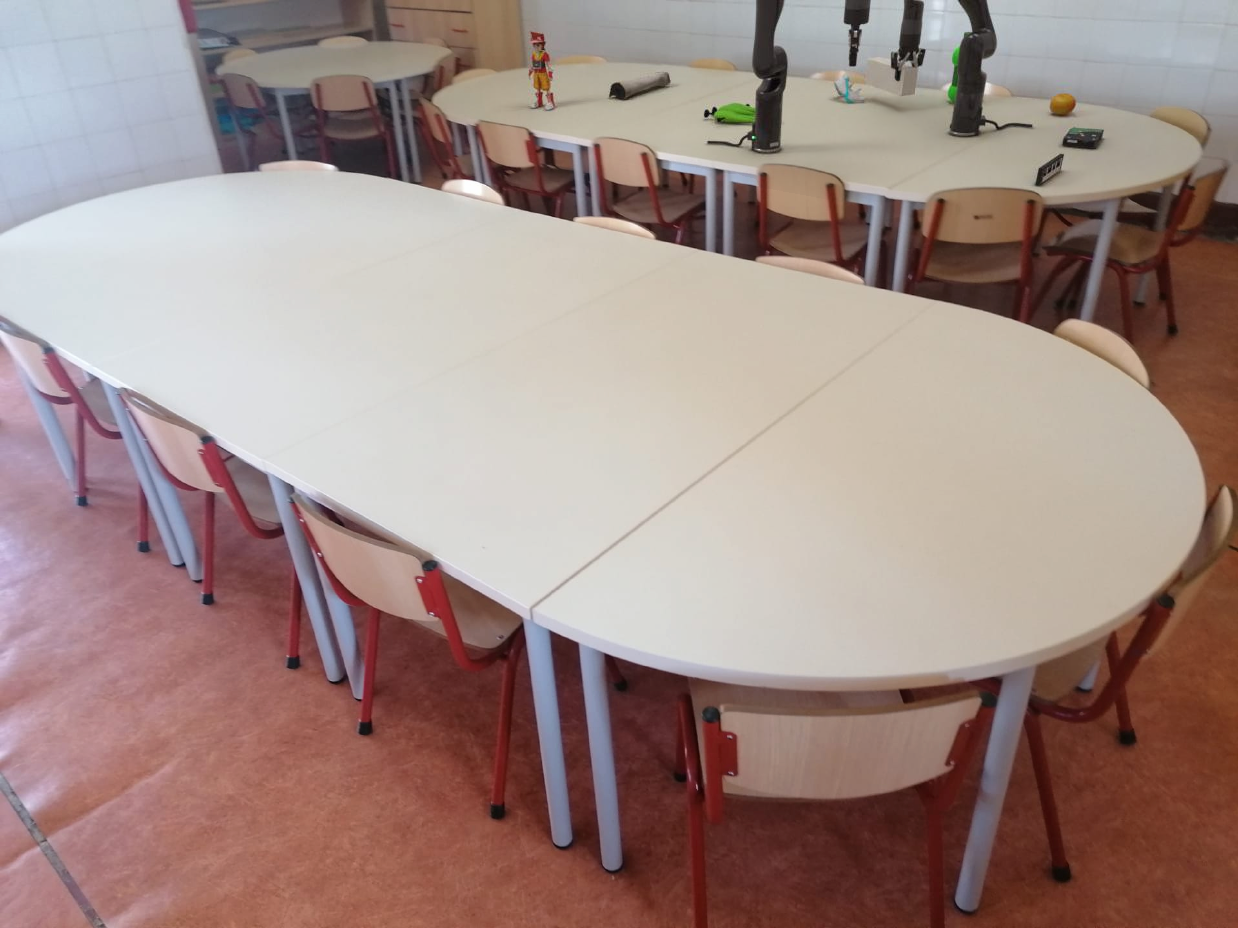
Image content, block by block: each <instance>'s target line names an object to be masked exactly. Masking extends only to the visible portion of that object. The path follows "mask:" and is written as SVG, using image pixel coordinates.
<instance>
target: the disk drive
mask: <svg viewBox="0 0 1238 928" xmlns="http://www.w3.org/2000/svg"><path fill="white" fill-rule="evenodd" d="M1104 131H1105V130H1104V129H1101V128H1100V129H1098V128H1088V127H1087V128H1085V127H1071V128H1070V129H1069V130H1068V132H1067V133H1066V134H1065V136H1064V137H1063V139H1062V146H1065V147H1066V146H1067V147H1073V148H1074V147H1075V148H1085V149H1095V148H1096V147H1097V146H1098V144H1099V142H1100V141H1101V140H1102V138H1103V136H1104Z"/></svg>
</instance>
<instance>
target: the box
mask: <svg viewBox="0 0 1238 928" xmlns="http://www.w3.org/2000/svg"><path fill="white" fill-rule="evenodd" d="M900 71H901V76H900V81H896V80H895V78H894V77H895V69H892V68H891V59H889V58H885V57H882V56H877V57H869V58H867V60H866V69H865V79H864V84H865V85H868V86H871V87H874V88H876V89H878V90H879V89H880V90H883V91H885V92H888V93H891V94H893V95H896V96H898V97H906V96H913V95H914V96H915V94H916V87H917V79H918V72H919V67H918V68H915V67H912V65H907V64H906V63H905V64H904V65H903V66H902V69H901V70H900Z"/></svg>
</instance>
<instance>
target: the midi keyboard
mask: <svg viewBox="0 0 1238 928" xmlns="http://www.w3.org/2000/svg"><path fill="white" fill-rule="evenodd" d="M1064 157H1065V153H1059V154H1058V155H1056V156H1055V157H1052V159H1051V160H1049V161H1047V162H1045V164H1042V165H1041V166H1039V167H1038V169H1037V175H1036V179H1035V186H1040V185H1042V183H1044V182H1045V181H1047V180H1048V179H1049V178H1051V177H1052V176H1054V175H1055V174H1056V173H1058V172H1060V171H1061V170H1062V165H1063V161H1064Z"/></svg>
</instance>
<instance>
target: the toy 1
mask: <svg viewBox="0 0 1238 928" xmlns="http://www.w3.org/2000/svg"><path fill="white" fill-rule="evenodd" d="M529 33H530V35H531V36H528V37H527V38H528V39H529V40H528V41H527V43H529V44H530V43H531V44H532V48H533V50H534V51H533V52H532V55H531V58H530V59H531V63H530V66H528V74H527V75H528V76H527V77H528V79H529V80H531V75H532V74H533V84H532V85H533V86H532V87H533V88H534V89H535V90H536V92H534V95H535V97H536V100H535V101H533V102H531V105H530V108H531V109H535V108H538V107H542V106H544V101H543V100H544V99H543V95H544V92H546V94H545V97H546V99H547V103H546V104H545V106H544V110H546V111H549V110H553V109H554V107H555V106H556V105H555V99H554V92H551V91H550V90H551V86H552V84H551V82H552V81H553V80H554V77H553V73H554V71H555V70H554V69H552V68H551V63H550V61H551V59H550V58H551V57H550V54H549V53H548V52H547V50H546V48H545V46H546V44H547V41H545V35H544V33H543V32H542V33H539V32H535V31H529Z"/></svg>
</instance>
